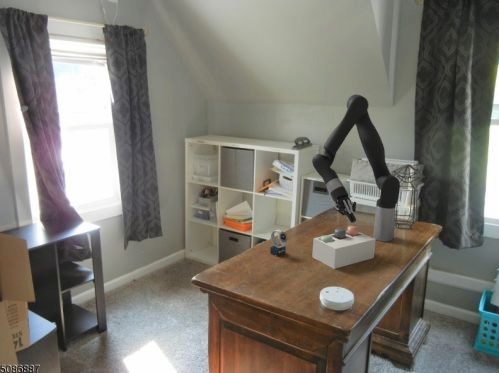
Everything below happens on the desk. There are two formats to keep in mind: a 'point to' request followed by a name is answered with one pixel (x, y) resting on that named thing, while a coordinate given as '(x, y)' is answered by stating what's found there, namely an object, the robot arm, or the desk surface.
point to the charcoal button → (340, 233)
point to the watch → (278, 248)
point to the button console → (344, 250)
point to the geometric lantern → (408, 190)
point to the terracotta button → (353, 231)
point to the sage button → (326, 238)
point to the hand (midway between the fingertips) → (354, 221)
